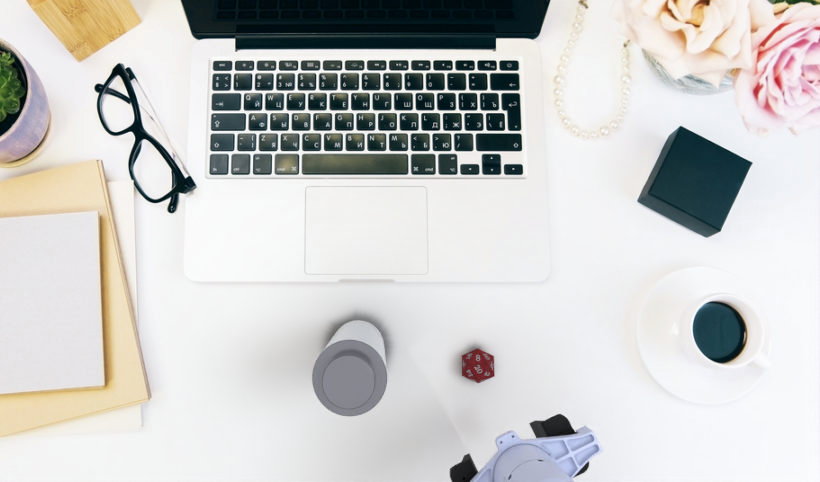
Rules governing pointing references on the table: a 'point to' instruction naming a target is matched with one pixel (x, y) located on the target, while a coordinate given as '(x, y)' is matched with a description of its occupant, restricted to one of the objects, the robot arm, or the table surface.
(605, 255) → the table surface
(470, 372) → the dice
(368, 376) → the grey-lidded white canister
